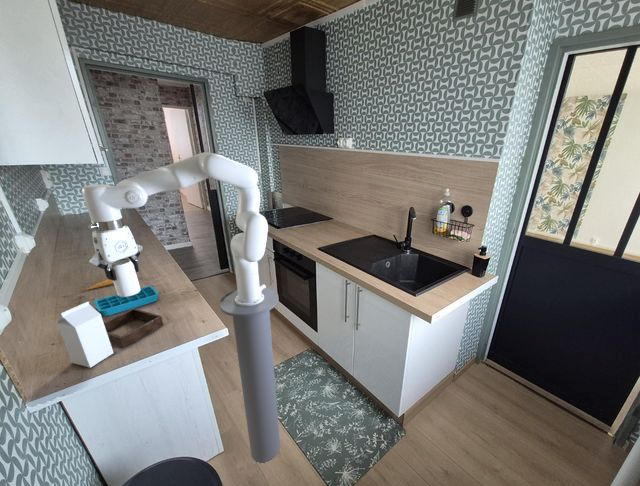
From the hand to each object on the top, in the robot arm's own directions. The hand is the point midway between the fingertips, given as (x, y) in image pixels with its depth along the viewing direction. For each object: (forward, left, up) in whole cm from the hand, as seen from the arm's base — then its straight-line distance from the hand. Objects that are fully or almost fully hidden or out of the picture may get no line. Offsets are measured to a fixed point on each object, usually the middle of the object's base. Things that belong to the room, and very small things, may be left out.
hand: (124, 274), depth 99 cm
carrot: (-20, -46, -23) cm, 55 cm away
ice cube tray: (-11, -21, -23) cm, 33 cm away
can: (0, 0, -7) cm, 7 cm away
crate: (+2, -2, -22) cm, 23 cm away
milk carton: (+16, +2, -23) cm, 28 cm away
